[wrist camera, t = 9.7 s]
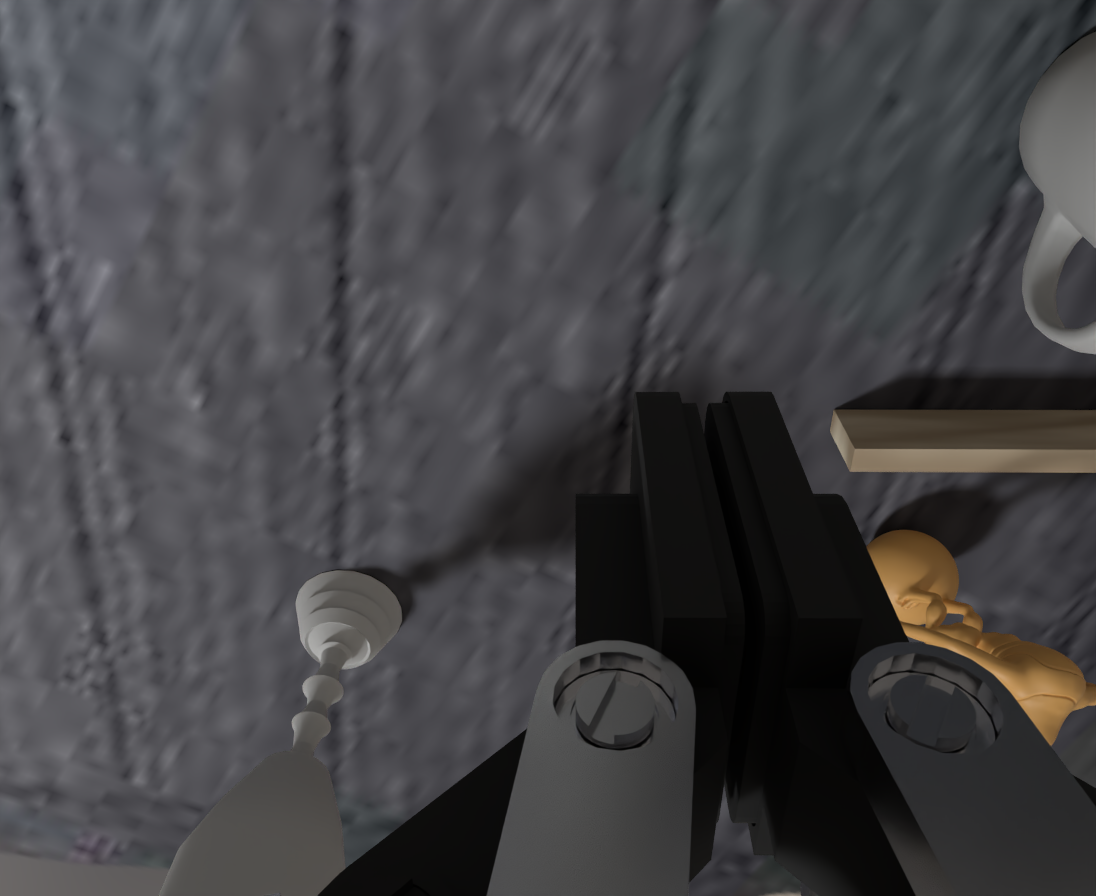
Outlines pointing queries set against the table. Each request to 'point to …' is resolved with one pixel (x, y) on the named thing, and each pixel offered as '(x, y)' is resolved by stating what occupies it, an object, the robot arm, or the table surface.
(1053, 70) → the cup
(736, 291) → the table surface
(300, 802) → the chalice
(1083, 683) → the figurine
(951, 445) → the wooden u-shaped frame
